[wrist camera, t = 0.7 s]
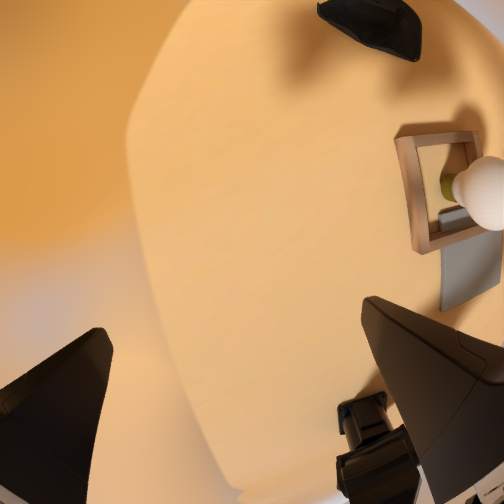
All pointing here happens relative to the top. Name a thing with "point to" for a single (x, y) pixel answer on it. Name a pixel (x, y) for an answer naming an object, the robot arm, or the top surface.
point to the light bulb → (479, 191)
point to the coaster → (468, 261)
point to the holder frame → (415, 192)
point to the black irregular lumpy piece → (377, 24)
